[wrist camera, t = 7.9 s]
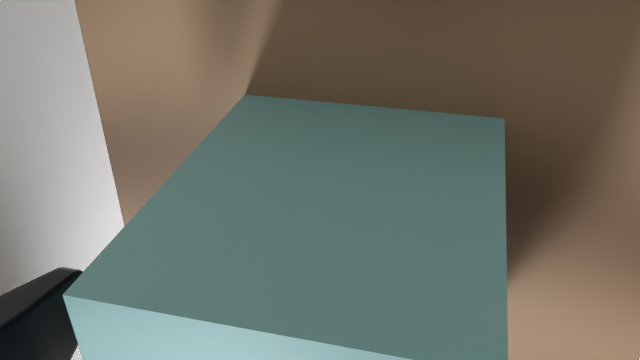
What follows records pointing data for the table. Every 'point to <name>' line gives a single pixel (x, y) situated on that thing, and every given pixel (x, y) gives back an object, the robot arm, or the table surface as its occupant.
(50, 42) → the table surface
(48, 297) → the robot arm
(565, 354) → the base
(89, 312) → the block
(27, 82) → the table surface
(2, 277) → the table surface
